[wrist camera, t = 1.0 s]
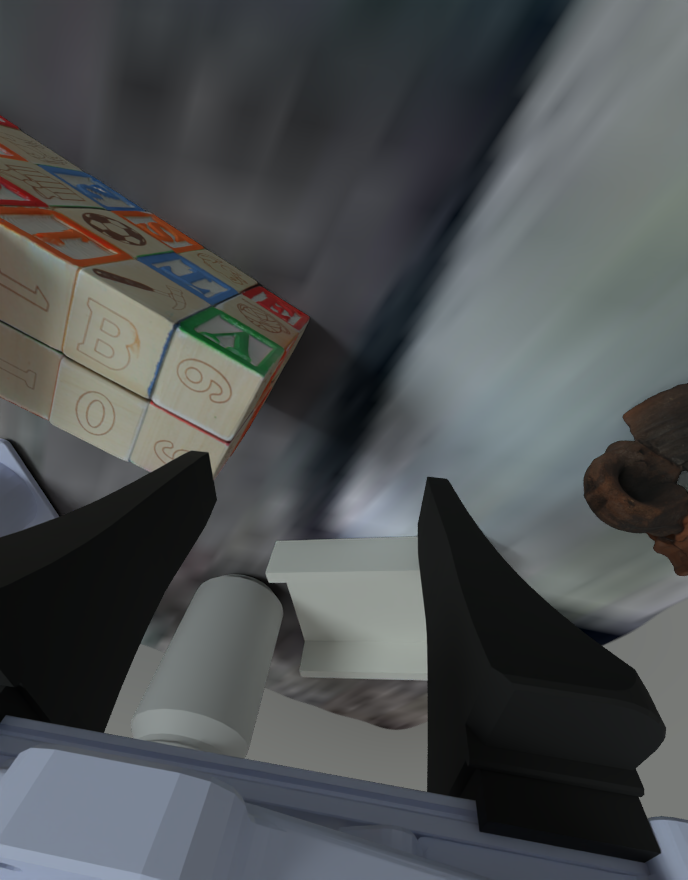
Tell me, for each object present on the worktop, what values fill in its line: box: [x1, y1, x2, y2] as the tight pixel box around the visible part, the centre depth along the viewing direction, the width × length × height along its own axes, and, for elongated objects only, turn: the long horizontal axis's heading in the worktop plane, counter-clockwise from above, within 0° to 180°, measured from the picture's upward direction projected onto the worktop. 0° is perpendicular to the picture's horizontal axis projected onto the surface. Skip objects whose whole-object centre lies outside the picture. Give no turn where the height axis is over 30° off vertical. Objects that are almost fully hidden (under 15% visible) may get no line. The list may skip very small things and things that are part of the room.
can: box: [131, 574, 283, 758], centre depth 27 cm, size 8×8×12 cm
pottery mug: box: [584, 383, 688, 576], centre depth 20 cm, size 12×10×8 cm
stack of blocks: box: [0, 116, 310, 480], centre depth 14 cm, size 21×6×12 cm, turn 58°
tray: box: [266, 537, 428, 680], centre depth 29 cm, size 15×13×3 cm
